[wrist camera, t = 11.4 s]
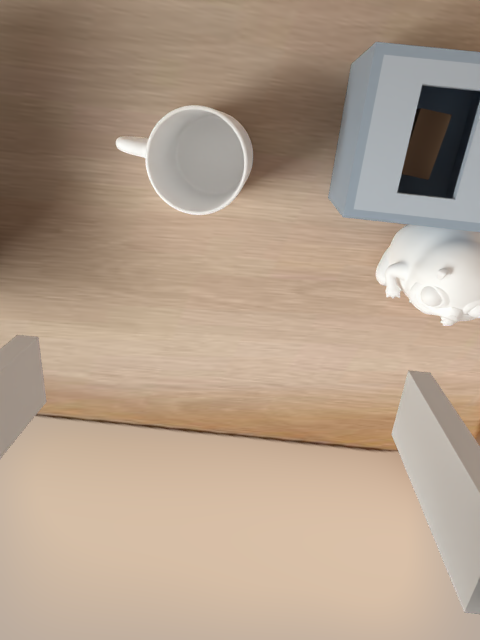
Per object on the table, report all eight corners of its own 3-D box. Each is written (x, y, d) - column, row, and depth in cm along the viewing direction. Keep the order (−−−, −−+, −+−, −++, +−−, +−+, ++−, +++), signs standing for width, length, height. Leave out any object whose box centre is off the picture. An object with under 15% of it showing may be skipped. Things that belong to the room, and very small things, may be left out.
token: (380, 167, 43) (399, 173, 37) (398, 111, 41) (420, 108, 35) (405, 172, 43) (428, 179, 37) (424, 117, 41) (451, 114, 35)
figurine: (413, 189, 44) (458, 208, 33) (494, 233, 45) (563, 266, 34) (359, 273, 48) (384, 316, 37) (435, 312, 49) (481, 364, 38)
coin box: (328, 197, 45) (342, 217, 35) (351, 64, 40) (376, 41, 30) (445, 210, 45) (495, 234, 35) (483, 77, 40) (553, 59, 30)
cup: (245, 205, 46) (237, 224, 37) (132, 181, 46) (96, 194, 37) (261, 120, 43) (257, 117, 34) (140, 94, 43) (103, 84, 33)
